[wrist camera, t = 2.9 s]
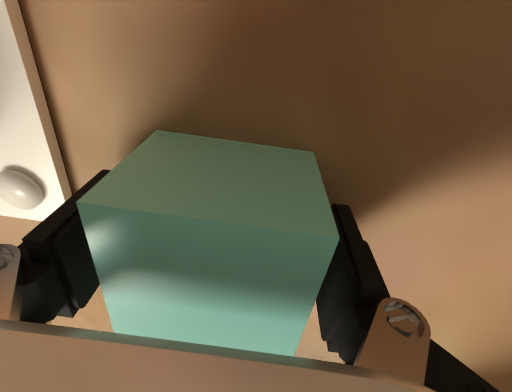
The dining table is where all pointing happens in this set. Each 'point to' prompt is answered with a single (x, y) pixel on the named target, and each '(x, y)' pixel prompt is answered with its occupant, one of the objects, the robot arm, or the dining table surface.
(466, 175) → the dining table surface
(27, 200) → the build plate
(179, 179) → the teal brick
